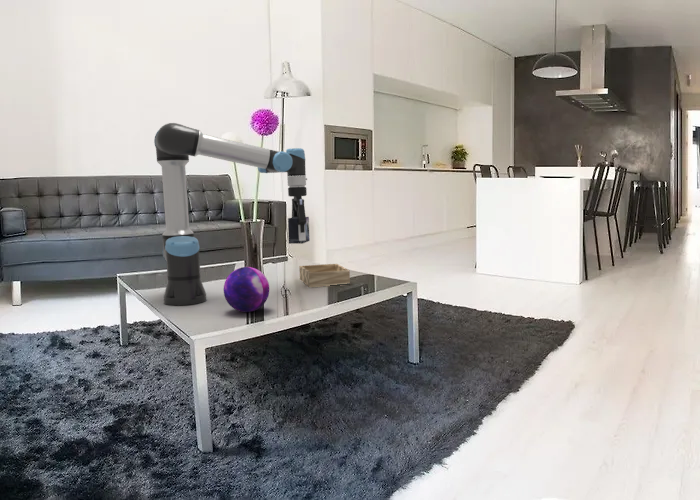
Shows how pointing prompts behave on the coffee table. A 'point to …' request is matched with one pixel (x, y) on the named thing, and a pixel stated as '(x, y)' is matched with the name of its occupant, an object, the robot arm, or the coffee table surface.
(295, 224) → the small box
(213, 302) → the coffee table surface
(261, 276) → the decorative orb
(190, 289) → the robot arm
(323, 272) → the pine crate
